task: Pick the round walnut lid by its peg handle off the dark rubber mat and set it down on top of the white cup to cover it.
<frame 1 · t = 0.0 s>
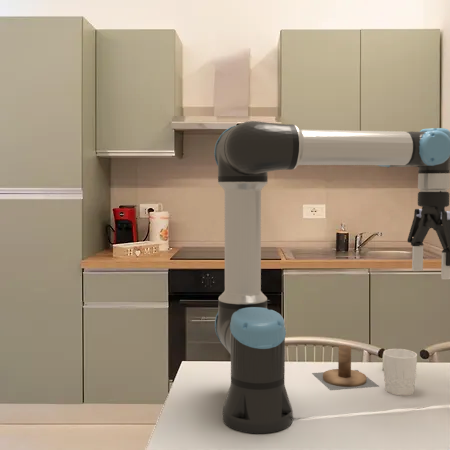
hand: (431, 274, 148), 28 cm above the table, fingers open, 13 cm apart
cream capsule cylinder: (393, 373, 158), on the table
white cup: (399, 394, 143), on the table
walnut lid: (344, 379, 151), point 1 cm above the table, touching mat
mat: (344, 382, 151), on the table
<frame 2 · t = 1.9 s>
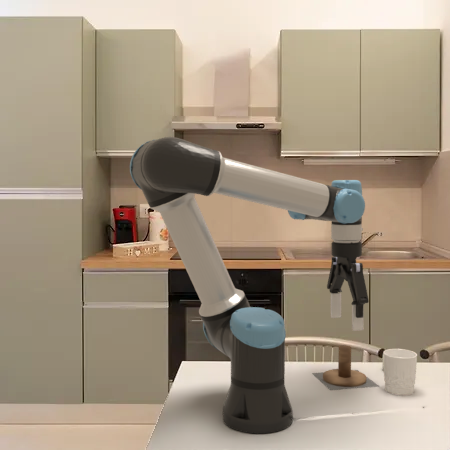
hand: (346, 323, 150), 15 cm above the table, fingers open, 13 cm apart
nothing on the table moved.
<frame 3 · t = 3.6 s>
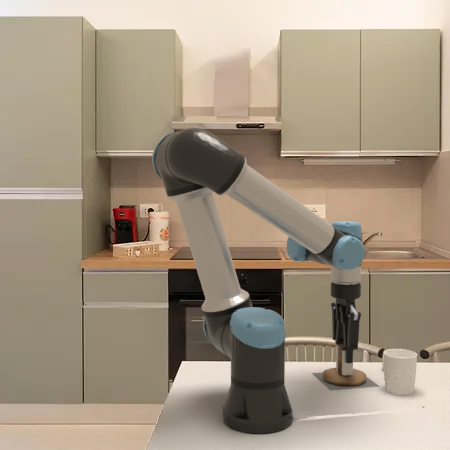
hand: (344, 372, 150), 3 cm above the table, fingers closed on walnut lid, 3 cm apart
walnut lid: (344, 378, 151), point 1 cm above the table, touching gripper
everything else where it was.
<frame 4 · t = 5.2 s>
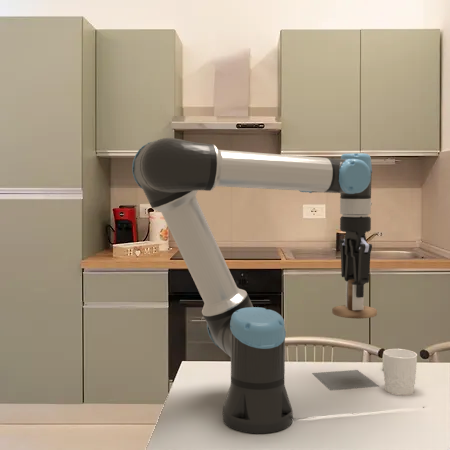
hand: (354, 308, 148), 20 cm above the table, fingers closed on walnut lid, 3 cm apart
walnut lid: (354, 313, 148), point 18 cm above the table, touching gripper
everything else where it was.
when the fingers open (14 cm above the table, at t = 7.0 s): walnut lid drops 2 cm, resting on white cup.
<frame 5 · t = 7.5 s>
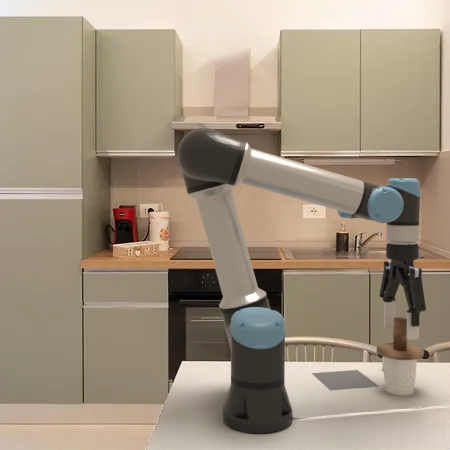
hand: (400, 333, 142), 15 cm above the table, fingers open, 10 cm apart
white cup: (399, 394, 143), on the table, touching walnut lid
walnut lid: (399, 353, 142), point 10 cm above the table, touching white cup
everything else where it was.
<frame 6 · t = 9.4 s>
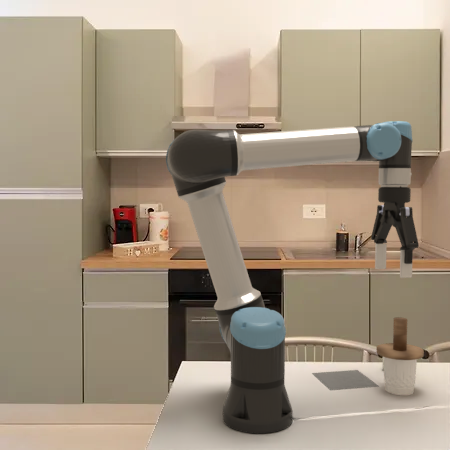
hand: (392, 273, 143), 29 cm above the table, fingers open, 13 cm apart
nothing on the table moved.
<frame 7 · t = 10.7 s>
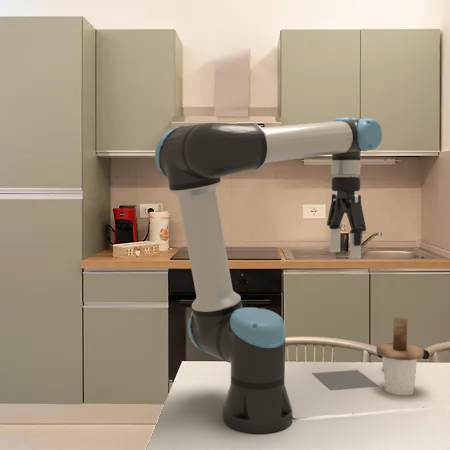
hand: (344, 255, 159), 32 cm above the table, fingers open, 13 cm apart
nothing on the table moved.
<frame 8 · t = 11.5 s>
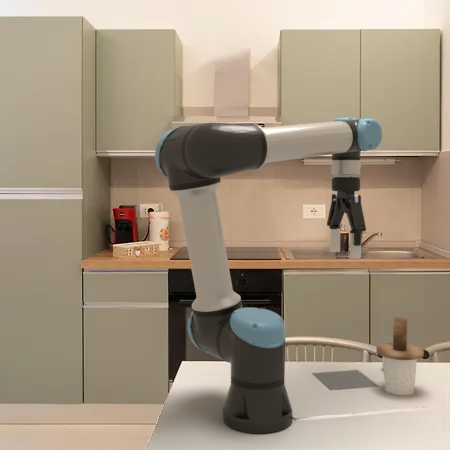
hand: (344, 255, 159), 32 cm above the table, fingers open, 13 cm apart
nothing on the table moved.
at the end: walnut lid 0.1 cm off-centre on the white cup, point 10.2 cm above the white cup's base; white cup tilted 0°; walnut lid tilted 0° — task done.
